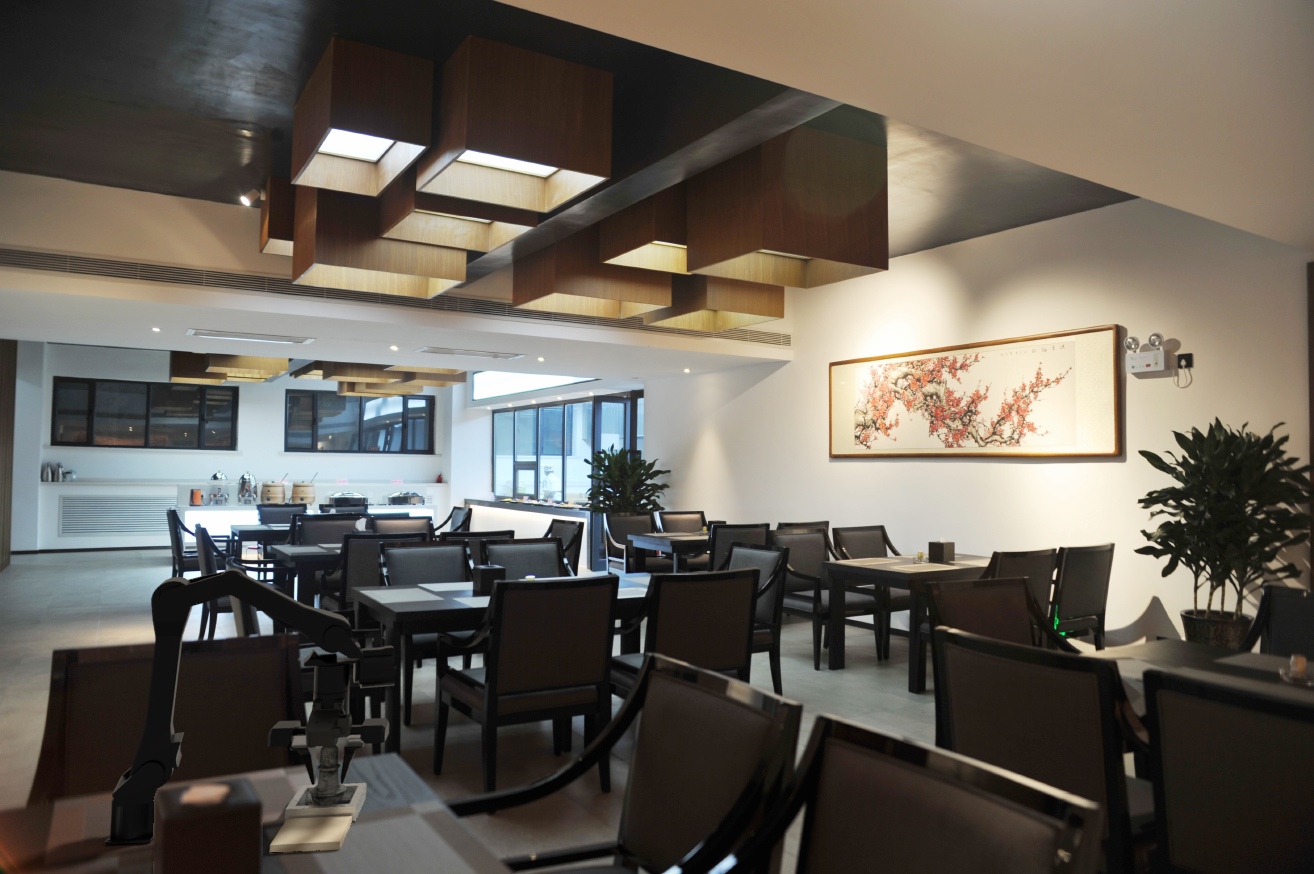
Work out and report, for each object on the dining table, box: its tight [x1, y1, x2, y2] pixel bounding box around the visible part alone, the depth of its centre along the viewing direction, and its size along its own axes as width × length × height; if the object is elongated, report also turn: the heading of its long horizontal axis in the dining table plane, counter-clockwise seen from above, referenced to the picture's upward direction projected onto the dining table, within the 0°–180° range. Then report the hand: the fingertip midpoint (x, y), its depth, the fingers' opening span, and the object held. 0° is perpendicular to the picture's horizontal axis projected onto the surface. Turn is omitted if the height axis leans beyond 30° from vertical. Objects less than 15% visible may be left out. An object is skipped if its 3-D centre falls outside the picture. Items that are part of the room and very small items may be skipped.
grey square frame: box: [284, 782, 368, 822], centre depth 144 cm, size 11×11×2 cm
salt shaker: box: [309, 744, 346, 805], centre depth 144 cm, size 6×6×12 cm
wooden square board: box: [269, 816, 353, 853], centre depth 133 cm, size 10×10×1 cm
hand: (328, 783), depth 144 cm, fingers open, 4 cm apart
